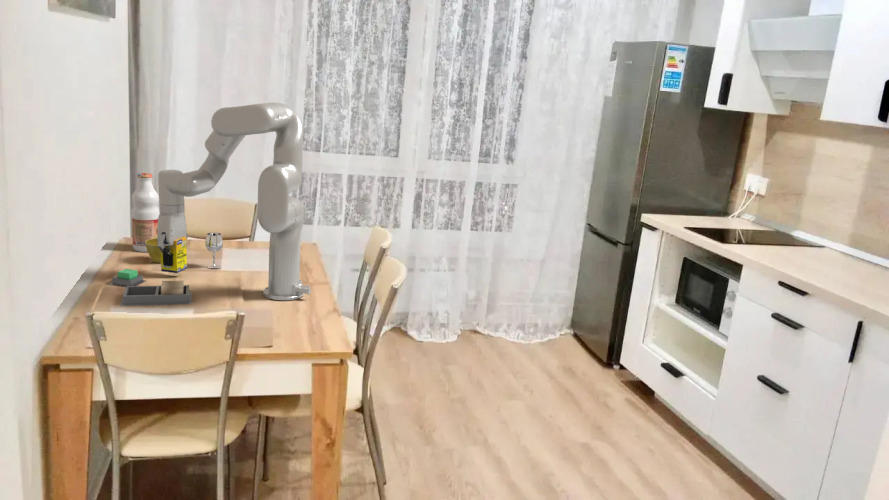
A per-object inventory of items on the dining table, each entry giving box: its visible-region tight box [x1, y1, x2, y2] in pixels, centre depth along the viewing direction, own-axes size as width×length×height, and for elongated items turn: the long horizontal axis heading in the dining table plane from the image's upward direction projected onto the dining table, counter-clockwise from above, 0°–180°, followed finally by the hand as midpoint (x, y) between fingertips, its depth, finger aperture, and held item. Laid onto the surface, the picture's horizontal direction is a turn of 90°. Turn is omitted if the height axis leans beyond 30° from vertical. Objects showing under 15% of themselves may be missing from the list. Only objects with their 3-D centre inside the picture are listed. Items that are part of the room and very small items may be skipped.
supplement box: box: [160, 237, 188, 274], centre depth 223 cm, size 6×6×11 cm
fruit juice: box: [131, 172, 160, 253], centre depth 250 cm, size 9×9×28 cm
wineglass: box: [204, 231, 224, 269], centre depth 238 cm, size 6×6×12 cm
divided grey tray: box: [119, 284, 193, 307], centre depth 202 cm, size 19×11×4 cm, turn 109°
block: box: [160, 280, 185, 295], centre depth 203 cm, size 6×6×4 cm
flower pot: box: [145, 238, 161, 264], centre depth 240 cm, size 10×10×7 cm
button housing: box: [107, 273, 147, 288], centre depth 214 cm, size 8×8×3 cm
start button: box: [117, 268, 138, 279], centre depth 213 cm, size 4×4×2 cm
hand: (174, 262), depth 224 cm, fingers closed on supplement box, 6 cm apart
